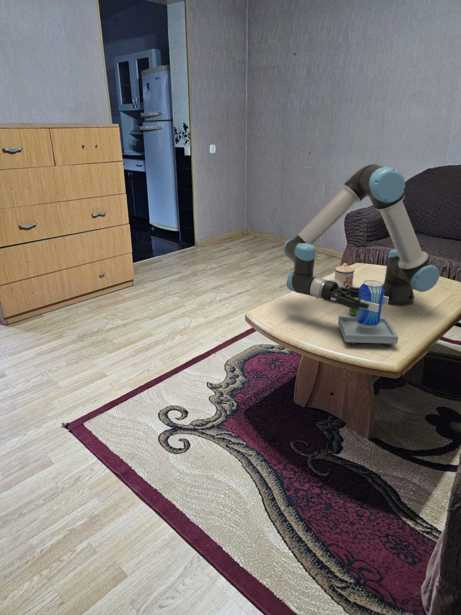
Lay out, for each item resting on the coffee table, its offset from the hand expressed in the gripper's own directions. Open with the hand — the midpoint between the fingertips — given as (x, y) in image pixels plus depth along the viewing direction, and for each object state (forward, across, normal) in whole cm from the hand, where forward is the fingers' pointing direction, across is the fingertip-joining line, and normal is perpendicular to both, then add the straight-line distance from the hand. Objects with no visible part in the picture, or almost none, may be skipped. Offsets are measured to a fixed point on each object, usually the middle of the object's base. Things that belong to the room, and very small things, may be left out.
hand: (383, 304), depth 153 cm
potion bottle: (-34, -28, -15) cm, 47 cm away
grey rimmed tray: (-5, 0, -15) cm, 16 cm away
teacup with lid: (-35, -47, -15) cm, 61 cm away
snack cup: (-16, -19, -15) cm, 29 cm away
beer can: (-5, 0, -9) cm, 10 cm away
